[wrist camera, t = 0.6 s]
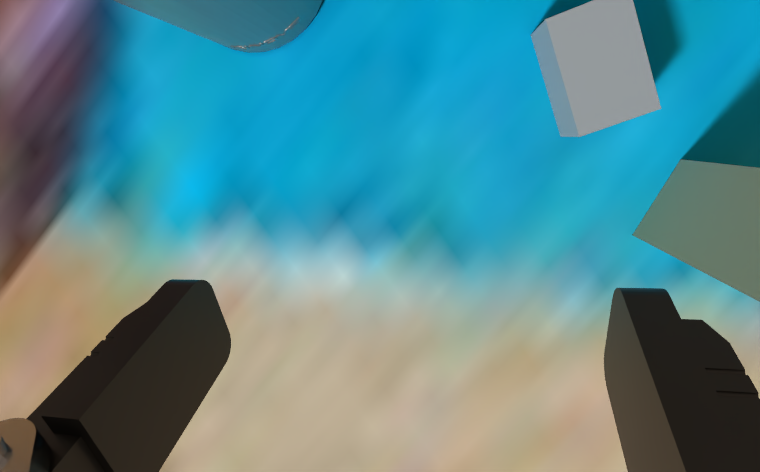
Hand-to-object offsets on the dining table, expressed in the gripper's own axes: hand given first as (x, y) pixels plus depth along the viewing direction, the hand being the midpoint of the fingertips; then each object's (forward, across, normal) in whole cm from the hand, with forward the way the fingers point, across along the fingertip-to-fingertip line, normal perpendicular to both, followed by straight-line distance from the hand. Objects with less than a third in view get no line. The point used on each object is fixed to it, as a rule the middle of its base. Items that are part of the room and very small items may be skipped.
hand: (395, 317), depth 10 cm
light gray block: (+23, -7, +1) cm, 24 cm away
